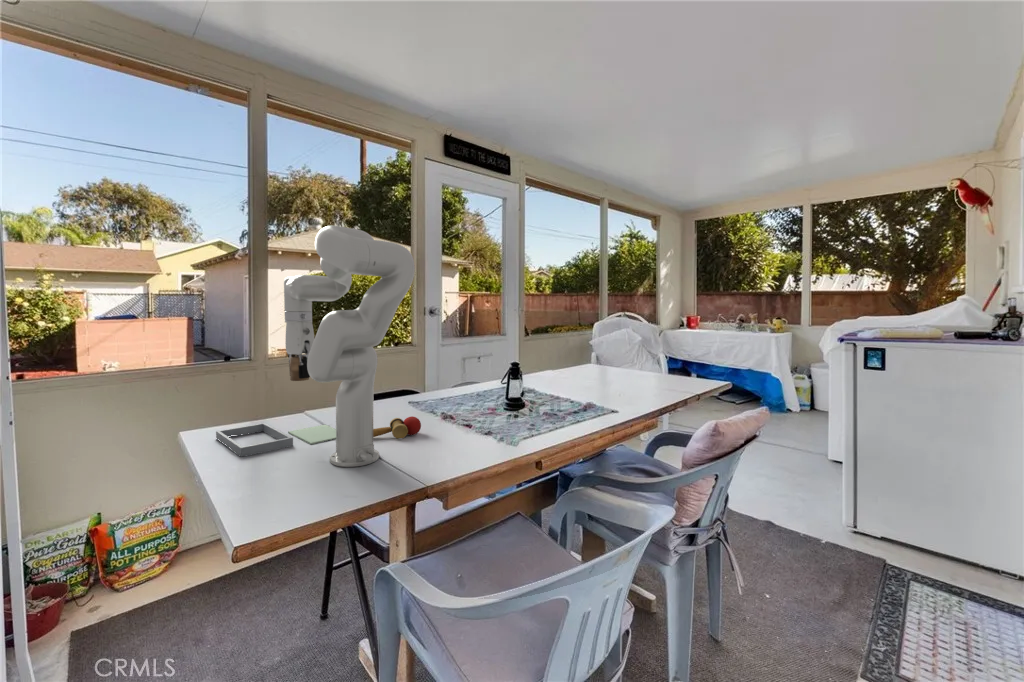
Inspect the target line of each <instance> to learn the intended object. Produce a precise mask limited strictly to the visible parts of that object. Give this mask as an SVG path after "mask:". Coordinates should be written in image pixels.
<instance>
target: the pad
mask: <svg viewBox="0 0 1024 682" xmlns="http://www.w3.org/2000/svg"><path fill="white" fill-rule="evenodd" d="M287 433H288V435H290V436H294V437H295V438H297V439H299V440H301V441H303V442H304V443H307V444H309V445H314V444H316V445H317V444H319V443H325V442H328V440H330V441H333V440H332V439H334V440H336V428H334V427H332V426H330V425H327V424H322V425H316V426H310V427H306V428H298V429H294V430H288V432H287ZM324 441H325V442H324Z"/></svg>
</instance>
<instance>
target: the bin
mask: <svg viewBox="0 0 1024 682" xmlns="http://www.w3.org/2000/svg"><path fill="white" fill-rule="evenodd" d="M261 431H264V433H265V434H267V435H269V436H270V437H271V438H272V437H273V438H274V439H275V440H270V441H265V442H260V443H256V444H251V445H245V446H243V445H242V444H240V443H238V442H237V441H236V440H234V439H232V437H230V438H229V437H228V436H231V435H241V434H247V435H249V434H248V433H252V434H256V433H255V432H258V433H262V432H261ZM241 436H242V435H241ZM215 437H216V438H217V439H219V440H220V441H221V442H223V443H224V444H226V445H227V446H228V447H230V448H231V449H232V450H233V451H235V452H236V453H237V454H238V455H237V454H236V453H235V454H236V455H237V456H239V455H240V456H244V457H247V456H246V455H249V456H252V455H251V454H253V455H257V454H256V453H258V454H262V453H261V452H263V453H267V452H271V450H272V451H275V450H276V449H277V450H280V449H285V447H286V448H291V447H294V437H292V435H290V434H287V433H285V432H283V431H281V430H279V429H277V428H275V427H274V426H272V425H270V424H267V423H266V422H263V423H262V422H261V423H256V424H251V425H250V424H249V425H245V426H238V427H233V428H225V429H221V430H216V431H215ZM216 438H215V439H216ZM217 439H216V440H217ZM221 442H220V443H221ZM290 446H291V447H290ZM228 447H227V448H228ZM232 450H231V451H232ZM233 451H232V452H233ZM240 456H239V457H240Z"/></svg>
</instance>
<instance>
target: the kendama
mask: <svg viewBox="0 0 1024 682" xmlns="http://www.w3.org/2000/svg"><path fill="white" fill-rule="evenodd" d="M421 427H422V423H421V421H420V419H419V418H418V417H416V416H408V417H406V418H404V420H403V419H402V418H400V417H395V418H392V419H391V420H390V423H389V426H385V427H378V428H377V427H376V428H373V438H375V437H379V436H382V435H386V434H389V433H392V436H393V437H394V438H395V439H397V438H402V439H404V438H406V436H407V435H408V436H416V435H417V434H419V433H420V430H421Z"/></svg>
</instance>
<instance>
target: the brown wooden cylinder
mask: <svg viewBox="0 0 1024 682" xmlns="http://www.w3.org/2000/svg"><path fill="white" fill-rule="evenodd" d="M302 358H303V359H304V357H302ZM289 364H290V366H289V378H290V381H292V382H303V381H308V380H310V377H309V378H302V379H300V378H299V366H298V365H300V362H299V356H293V357H290V363H289Z"/></svg>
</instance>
